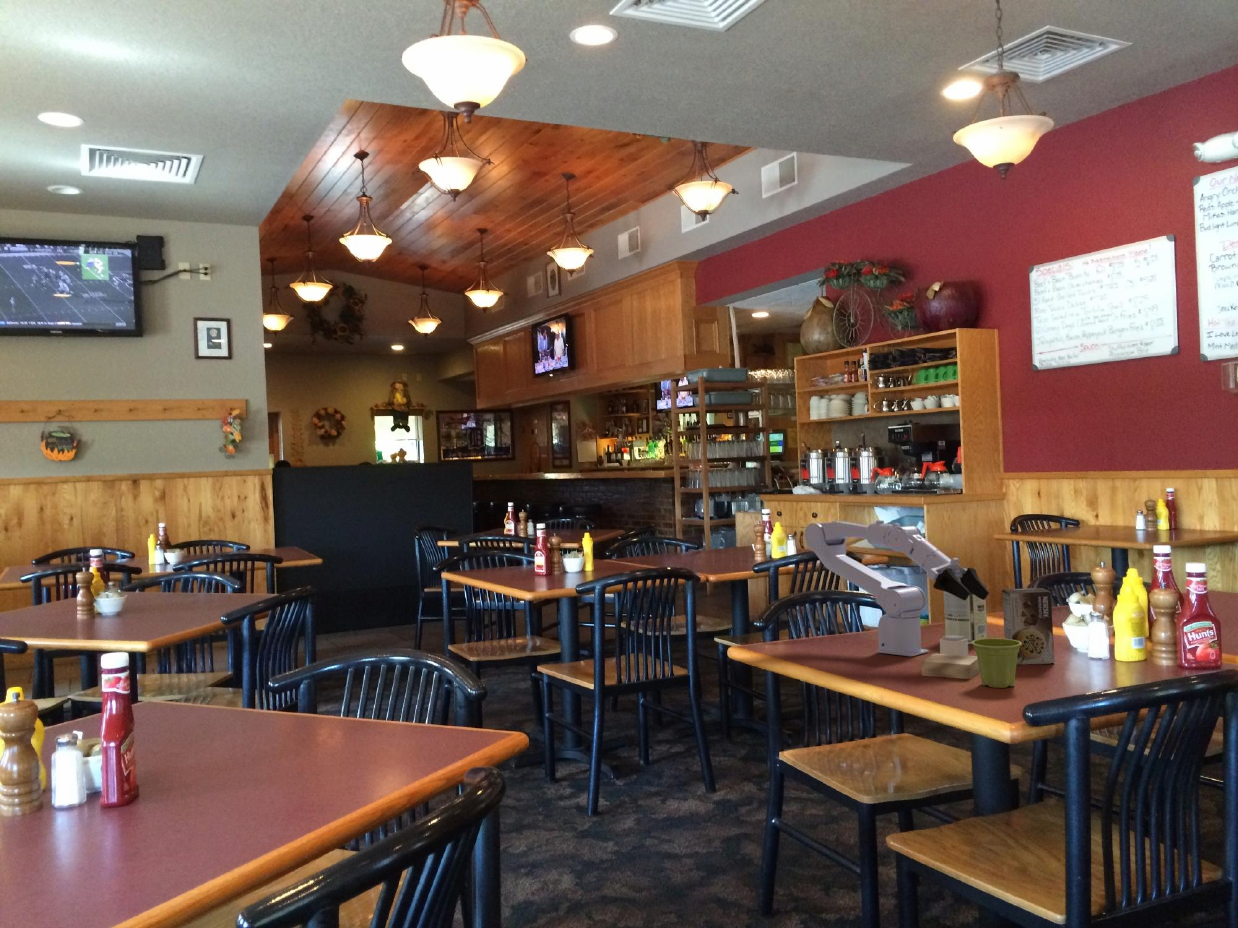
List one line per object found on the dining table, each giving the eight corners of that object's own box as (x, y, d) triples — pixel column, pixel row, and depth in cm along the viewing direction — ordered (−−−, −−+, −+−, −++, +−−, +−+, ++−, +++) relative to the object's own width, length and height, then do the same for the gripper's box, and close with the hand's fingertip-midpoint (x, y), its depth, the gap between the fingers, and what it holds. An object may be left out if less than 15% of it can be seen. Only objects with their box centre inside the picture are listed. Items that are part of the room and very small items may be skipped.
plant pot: (1025, 690, 195) (1023, 646, 195) (974, 689, 198) (972, 645, 198) (1020, 680, 204) (1019, 638, 204) (972, 679, 207) (970, 637, 207)
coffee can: (950, 636, 258) (948, 582, 258) (992, 638, 253) (989, 583, 253) (940, 643, 249) (937, 586, 250) (982, 645, 244) (980, 588, 244)
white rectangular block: (940, 663, 224) (939, 636, 224) (950, 660, 227) (949, 634, 227) (958, 665, 221) (957, 638, 221) (968, 662, 224) (967, 636, 224)
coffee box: (1045, 658, 225) (1042, 587, 225) (1055, 664, 219) (1052, 590, 219) (1004, 659, 226) (1001, 588, 226) (1012, 664, 220) (1009, 591, 220)
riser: (921, 675, 212) (921, 661, 212) (934, 666, 221) (934, 653, 221) (970, 679, 207) (969, 664, 207) (981, 670, 215) (981, 656, 215)
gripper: (922, 546, 225) (968, 582, 216) (958, 547, 234) (1003, 581, 225) (907, 571, 228) (951, 608, 218) (943, 571, 237) (987, 606, 228)
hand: (976, 596), depth 222 cm, fingers open, 7 cm apart
